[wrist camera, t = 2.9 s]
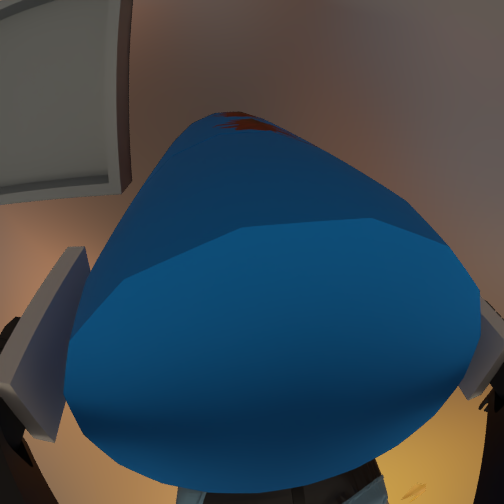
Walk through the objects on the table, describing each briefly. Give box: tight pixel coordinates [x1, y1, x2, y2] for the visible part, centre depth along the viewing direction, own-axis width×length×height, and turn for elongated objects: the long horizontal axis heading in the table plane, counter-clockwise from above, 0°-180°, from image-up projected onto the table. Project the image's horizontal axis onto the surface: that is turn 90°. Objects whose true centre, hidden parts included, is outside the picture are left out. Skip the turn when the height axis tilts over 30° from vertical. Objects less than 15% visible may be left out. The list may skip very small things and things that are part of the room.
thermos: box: [63, 112, 481, 493], centre depth 18 cm, size 11×11×25 cm
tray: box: [0, 0, 133, 205], centre depth 20 cm, size 20×20×4 cm
